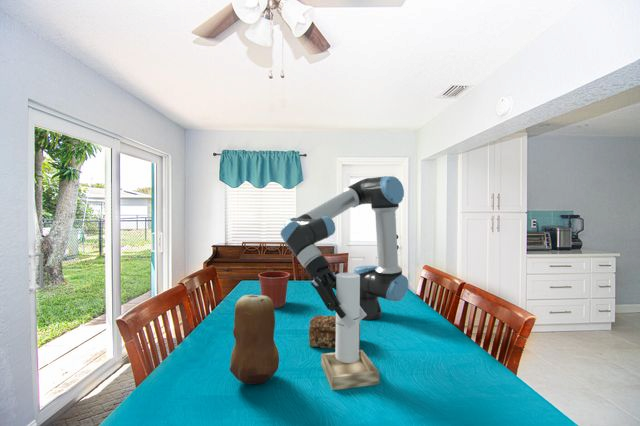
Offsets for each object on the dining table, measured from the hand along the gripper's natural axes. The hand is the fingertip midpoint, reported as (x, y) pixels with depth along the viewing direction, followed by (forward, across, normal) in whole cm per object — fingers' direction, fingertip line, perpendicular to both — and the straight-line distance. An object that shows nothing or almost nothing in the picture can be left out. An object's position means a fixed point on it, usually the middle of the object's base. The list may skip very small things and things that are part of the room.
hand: (358, 321), depth 89 cm
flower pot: (-35, -38, -59) cm, 78 cm away
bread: (0, -16, -24) cm, 29 cm away
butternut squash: (-5, +18, -30) cm, 35 cm away
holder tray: (+10, 0, -14) cm, 17 cm away
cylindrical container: (+6, 0, -11) cm, 12 cm away
